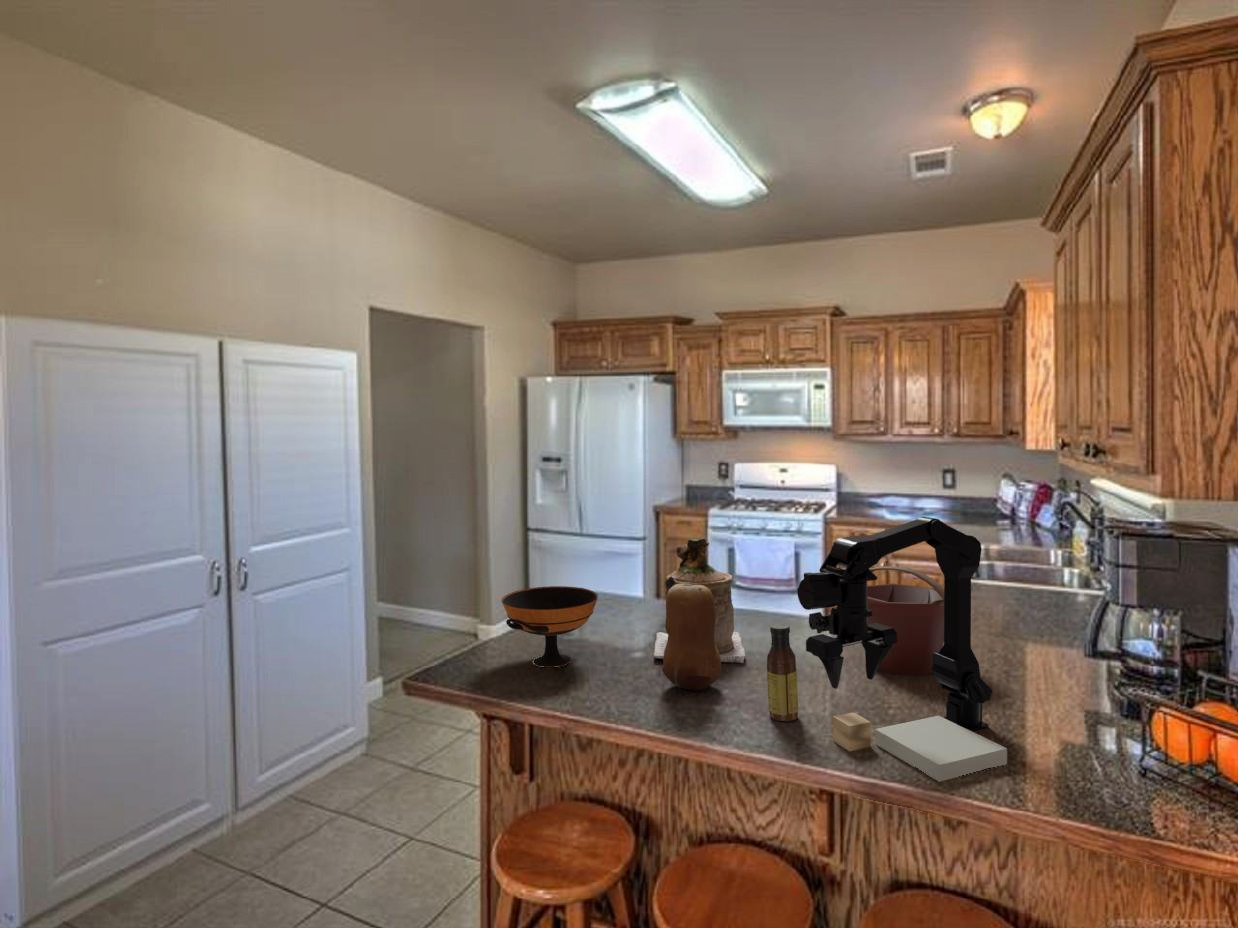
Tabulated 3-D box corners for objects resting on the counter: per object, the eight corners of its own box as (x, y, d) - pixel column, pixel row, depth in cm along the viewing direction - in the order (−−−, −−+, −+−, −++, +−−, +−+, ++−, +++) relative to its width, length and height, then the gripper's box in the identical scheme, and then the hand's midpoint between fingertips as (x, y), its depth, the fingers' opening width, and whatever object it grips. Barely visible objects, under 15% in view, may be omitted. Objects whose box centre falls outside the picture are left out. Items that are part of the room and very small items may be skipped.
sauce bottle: (793, 710, 156) (793, 620, 155) (802, 722, 149) (801, 629, 148) (764, 711, 156) (763, 621, 154) (771, 723, 149) (770, 630, 148)
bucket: (835, 657, 190) (835, 564, 189) (894, 644, 200) (894, 556, 199) (910, 686, 168) (911, 582, 167) (972, 670, 178) (973, 571, 177)
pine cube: (853, 736, 143) (853, 712, 142) (870, 747, 138) (870, 721, 138) (832, 741, 141) (832, 716, 141) (849, 751, 136) (849, 726, 136)
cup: (560, 692, 169) (558, 618, 168) (471, 678, 180) (469, 609, 179) (622, 647, 202) (621, 586, 201) (544, 638, 212) (543, 579, 211)
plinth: (938, 729, 145) (938, 715, 145) (1006, 764, 130) (1007, 748, 130) (875, 743, 139) (875, 728, 139) (939, 781, 124) (939, 764, 124)
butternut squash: (704, 674, 179) (703, 576, 178) (731, 692, 167) (730, 587, 165) (653, 682, 174) (652, 581, 173) (677, 702, 162) (676, 593, 160)
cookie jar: (740, 637, 210) (739, 529, 208) (747, 665, 186) (746, 543, 184) (656, 636, 213) (655, 529, 211) (652, 663, 188) (650, 543, 186)
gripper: (855, 589, 149) (856, 662, 150) (786, 601, 140) (787, 679, 141) (899, 600, 139) (899, 679, 140) (826, 614, 130) (827, 698, 131)
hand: (852, 683), depth 138 cm, fingers open, 9 cm apart
